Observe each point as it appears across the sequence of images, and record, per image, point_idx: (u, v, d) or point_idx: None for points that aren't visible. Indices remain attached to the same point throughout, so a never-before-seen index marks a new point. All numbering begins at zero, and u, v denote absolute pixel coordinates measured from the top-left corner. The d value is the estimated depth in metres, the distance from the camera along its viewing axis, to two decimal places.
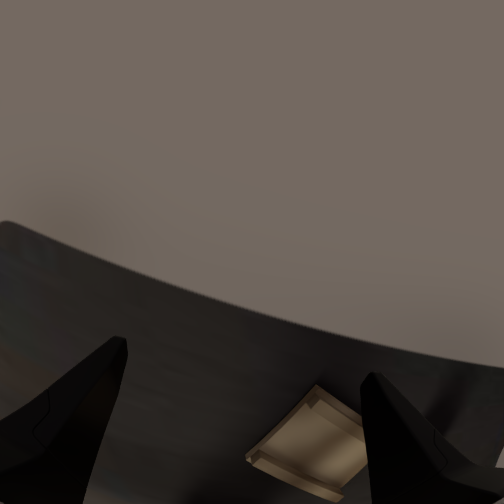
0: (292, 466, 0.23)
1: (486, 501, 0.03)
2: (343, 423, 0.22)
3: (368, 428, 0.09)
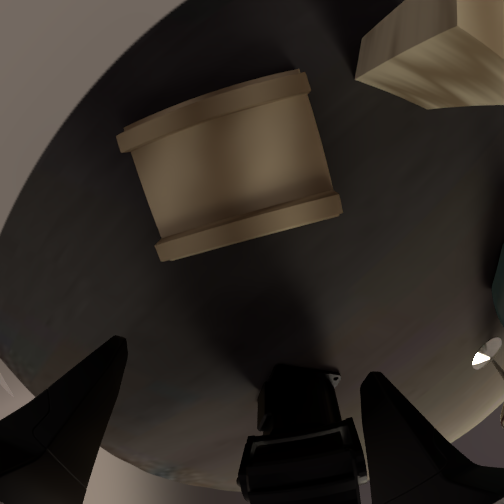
0: (220, 219, 0.19)
1: (486, 501, 0.03)
2: (172, 121, 0.16)
3: (368, 428, 0.09)
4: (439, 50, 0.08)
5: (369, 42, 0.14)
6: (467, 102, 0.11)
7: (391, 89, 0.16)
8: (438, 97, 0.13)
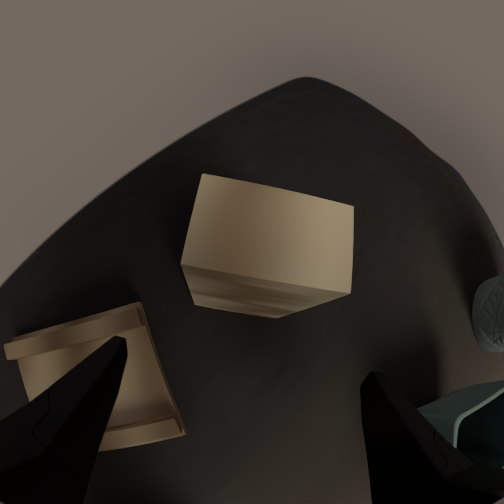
0: None
1: (486, 501, 0.03)
2: (39, 344, 0.16)
3: (368, 428, 0.09)
4: (204, 282, 0.12)
5: None
6: (290, 310, 0.16)
7: (228, 309, 0.20)
8: (266, 310, 0.18)
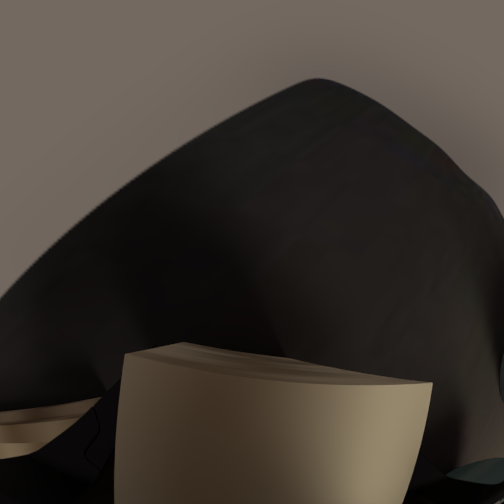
0: None
1: None
2: (0, 435, 0.09)
3: None
4: None
5: None
6: None
7: None
8: None
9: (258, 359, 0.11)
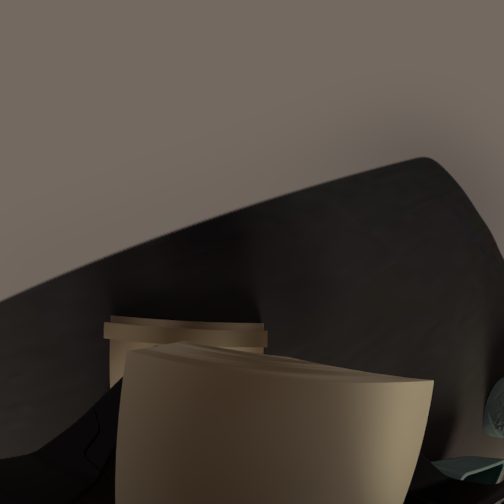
0: None
1: None
2: (152, 335, 0.19)
3: None
4: None
5: None
6: None
7: None
8: None
9: (259, 358, 0.11)
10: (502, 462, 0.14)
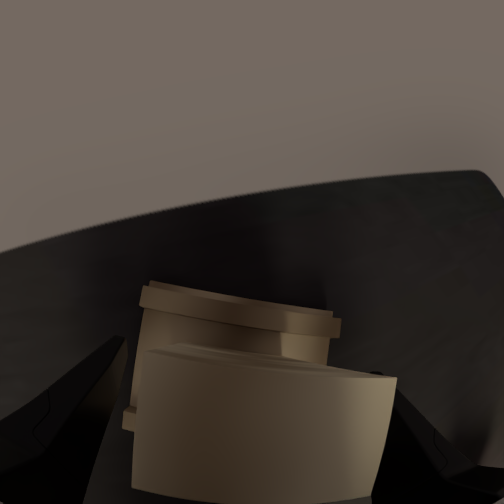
0: None
1: (486, 501, 0.03)
2: (205, 309, 0.16)
3: None
4: None
5: None
6: None
7: None
8: None
9: (253, 356, 0.12)
10: None
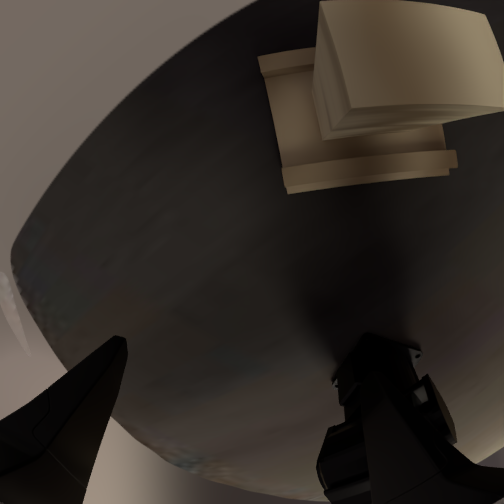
0: (347, 157, 0.18)
1: (486, 501, 0.03)
2: None
3: (368, 428, 0.09)
4: (361, 118, 0.09)
5: (316, 99, 0.15)
6: (433, 123, 0.11)
7: (360, 135, 0.17)
8: (405, 128, 0.13)
9: None
10: None
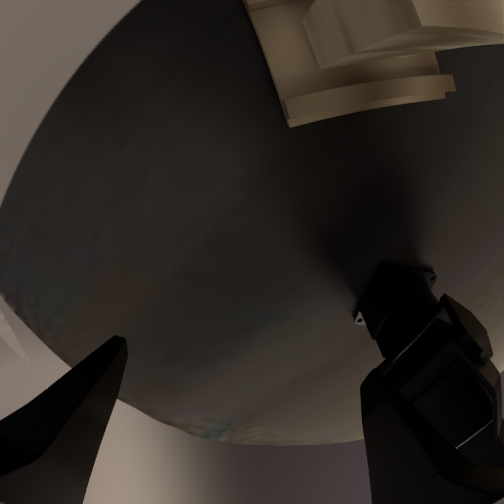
0: (347, 84, 0.15)
1: (486, 501, 0.03)
2: None
3: (368, 428, 0.09)
4: (403, 38, 0.07)
5: (313, 27, 0.12)
6: (442, 49, 0.09)
7: (359, 61, 0.14)
8: (410, 53, 0.11)
9: None
10: None
